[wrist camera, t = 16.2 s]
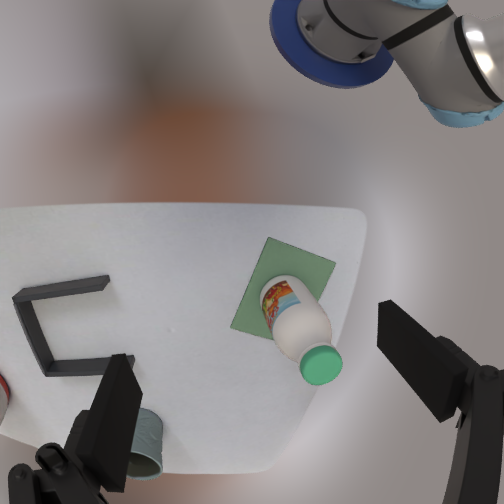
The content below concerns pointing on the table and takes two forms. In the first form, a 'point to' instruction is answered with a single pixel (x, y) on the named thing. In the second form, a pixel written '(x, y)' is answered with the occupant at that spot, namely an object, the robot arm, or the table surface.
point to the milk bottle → (300, 328)
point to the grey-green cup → (146, 447)
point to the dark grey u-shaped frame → (37, 338)
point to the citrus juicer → (3, 398)
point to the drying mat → (270, 266)
